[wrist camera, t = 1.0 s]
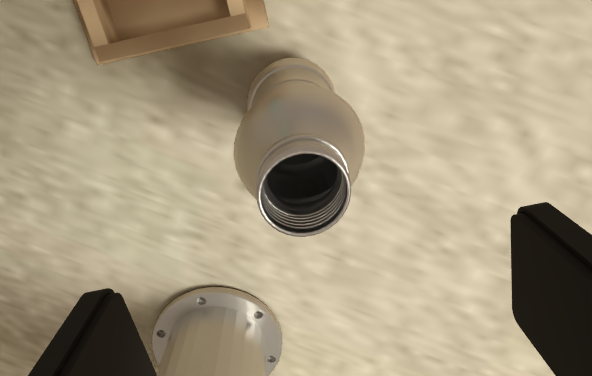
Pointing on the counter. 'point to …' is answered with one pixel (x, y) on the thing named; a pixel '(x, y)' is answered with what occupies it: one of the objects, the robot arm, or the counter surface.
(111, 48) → the oak caddy
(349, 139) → the plastic bottle
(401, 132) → the counter surface
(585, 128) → the counter surface
